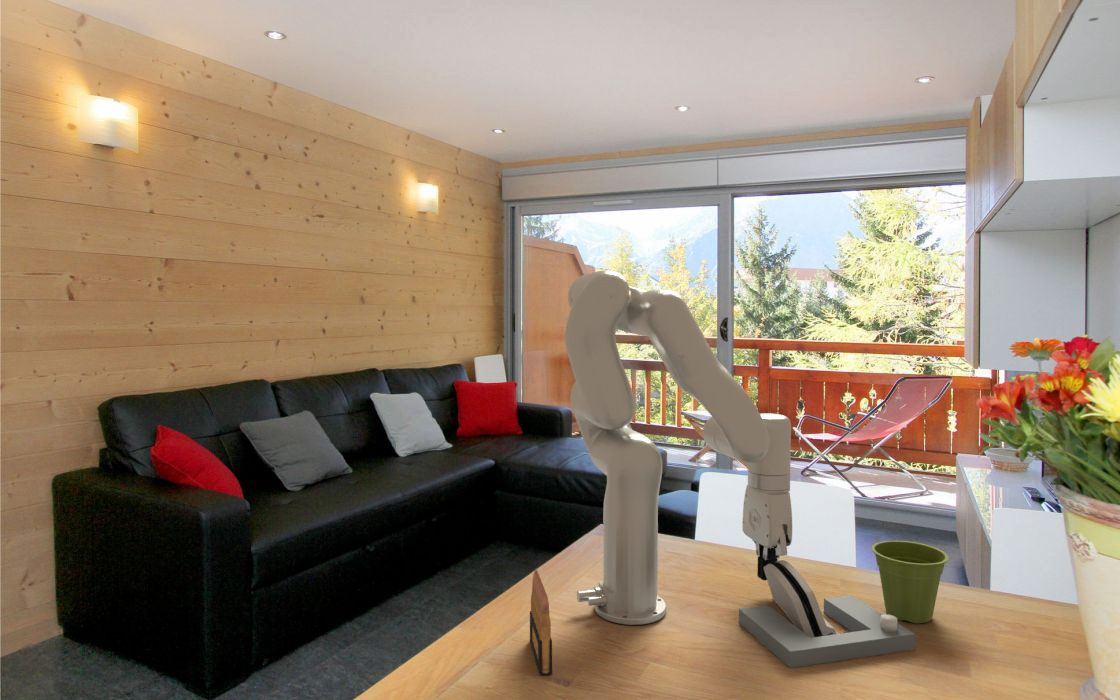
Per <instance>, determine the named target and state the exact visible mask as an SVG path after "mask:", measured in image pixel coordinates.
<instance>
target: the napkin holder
mask: <svg viewBox="0 0 1120 700" xmlns="http://www.w3.org/2000/svg"><path fill="white" fill-rule="evenodd" d="M543 584H544V583H543V582H542V579H541V577H540V575H539V572H538V569H535V570H534V572H533V574H532V587H531V595H530V597H531V598H530V611H529V644H530V647H531V650H532V654H533V657H534V661H535V665H536V668H537V671H538V675H539V676H548V675H549V676H550V675H552V674H553V639H552V636H551V635H552V634H551V633H552V632H551V631H552V630H551V627H552V626H551V617H550V602H549V598H548V597H549V596H548V594H547V592H546V590H545V587H544V585H543Z"/></svg>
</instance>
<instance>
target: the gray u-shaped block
mask: <svg viewBox="0 0 1120 700" xmlns="http://www.w3.org/2000/svg"><path fill="white" fill-rule="evenodd" d="M823 613H824V614H825V615H826V616H829V617H830V618H831V619H833V620H834V621H835V622H837V623H838V624H840V625H842V626H843V627H845V628H846V629H847V630H849V632H843V633H836V634H834V635H830V634H828V635H826V636H822V635H819V636H816V637H813V638H810V637H809V636H808V635H806V634H805V633H804V632H802V631H801V630H800V629H799V628H797V627H796V626H795V625H794V624H793V622H792V621H790V620H788V619H787V618H786V617H784V616H783V615H781V614H780V613H779V612H777V610H775V608H773V607H771V606H770V605H767V604H766V605H759V606H753V607H752V606H750V607H743V608H742V607H741V608H738V624H739V625H740V626H741V627H742V628H744V629H745V630H746V631H747V632H748V633H750V634H751V635H752V636H753V637H754V638H755V639H756V640H757V641H758V642H760V643H761V644H762V645H763V646H764V647H765V648H767V649H768V651H770V652H771V653H772V654H773V655H774V656H775V657H776V658H778V659H779V660H780V661H781V662H783V664H785V665H786V666H787V667H788V668H789V669H793V668H799V667H808V666H814V665H819V664H828V663H833V662H839V661H840V662H841V661H848V660H854V659H859V658H868V657H873V656H881V655H887V654H893V653H894V654H895V653H900V652H908V651H915V650H916V633H915V632H913V631H911V630H909V629H908V628H907V627H904V626H903V625H901V624H900V623H898V619H897V618H896V617H895V616H893V615H889V614H888V613H881V612H880V611H878V610H876V609H875V608H873V607H871V606H870V605H868V604H866V603H865V602H863V601H862V600H860V599H858V598H857V597H855V596H853V595H852V594H849V595H842V596H834V597H833V596H832V597H825V598H823Z"/></svg>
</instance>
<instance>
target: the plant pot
mask: <svg viewBox="0 0 1120 700" xmlns="http://www.w3.org/2000/svg"><path fill="white" fill-rule="evenodd" d="M871 551H872V553H873V554H874V555H875V559H876V564H877V567H878V571H879V576H880V577H879V578H880V583H881V589H882V590H881V591H882V596H883V602H884V608H885V609H884V610H885V611H886V614H888V615H893V616H895V617H896V618H897V621H907V622H910V623H913V624H923V623H929V622H930V621H931V620H932V619H933V618H934V617H933V616H934V611H935V606H936V601H937V596H938V591H939V587H940V586H939V585H940V581H941V577H942V576H941V575H942V574H943V571H944V567H945V564H946V563H948V561H949V555H948V554H947V553H946V552H945V551H943V550H941V549H940V548H937V547H935V546H932V545H928V544H924V543H920V542H913V541H907V540H884V541H879V542H876V543H874V544H873V545H872V546H871Z"/></svg>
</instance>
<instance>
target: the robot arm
mask: <svg viewBox="0 0 1120 700" xmlns="http://www.w3.org/2000/svg"><path fill="white" fill-rule="evenodd" d="M567 301H568V305H569V307H570V311H569V314H568V318H567V319H566V320H567V321H566V326H565V331H564V333H565V334H564V336H565V337H564V339H565V342H564V344H565V349H566V354H567V358H568V360H569V364H570V367H571V370H572V372H573V376H574V379H575V382H574V384H573V385H572V388H571V392H570V405H571V409H572V412H573V413H572V414H573V416H574V418H575V421H576V423H577V426H578V429H579V431H580V434H581V437H582V440H583V442H584V445H585V448H586V450H587V453H588V454H589V458H590V459H591V461H592V463H593V464H594V466H595V467H596V468H597V469H598V471H600V472H602V473H603V474H604V475H605V476H606V487H605V492H604V493H605V494H604V497H603V498H604V499H603V509H602V511H603V512H602V513H603V515H602V516H603V517H602V518H603V519H602V520H603V521H602V522H603V579H602V580H599V581H598V585H597V586H594V587H593V589H579V590H577V591H576V599H577V603H583V602H587V605H588V606H589V607H592V606H594V610H595V612H596V614H597V615H598V616H600V617H601V618H602V619H604V620H606V621H609V622H611V623H615V624H620V625H621V624H622V625H626V626H627V625H629V626H635V625H636V626H638V625H639V626H640V625H646V624H651V623H655V622H658V621H659V620H661V619H662V618H663V617H664V616H665V615H666V613H667V603H666V602H665V600H664V599H663V598H662V597H660V596H659V595H658V573H659V572H658V570H659V569H658V568H659V567H658V566H659V565H658V563H659V562H658V560H659V559H658V558H659V557H658V556H659V555H658V553H659V551H658V550H659V549H658V548H659V547H658V545H659V544H658V543H659V542H658V541H659V536H658V535H659V534H658V533H659V532H658V531H659V522H658V518H659V517H658V516H659V512H658V511H659V494H660V490H661V489H660V488H661V487H660V486H661V482H662V481H661V480H662V476H663V458H662V454H661V452H660V450H659V448H658V446H657V445H656V444H655V443H654V441H652V440H651V439H650V438H649V437H647V436H646V435H644V434H642V433H640V432H638V431H636V430H633V429H632V425H631V423H632V421H633V419H634V417H635V414H636V412H637V401H636V396H635V393H634V391H633V388H632V387H631V386H632V385H631V384H630V381H629V379H628V375H627V373H626V370H625V367H624V364H623V362H622V359H621V356H620V352H619V349H618V345H617V340H616V338H617V337H616V333H617V330H619V331H621V332H626V333H630V334H634V335H638V336H642V337H643V336H645V337H648V339H649V340H650V342H651V344H652V345H653V347H654V348H655V351H656V352H657V355H658V356H659V358H660V359H661V361H662V362H663V364H664V366H665V368H666V369H667V372H668V373H669V375H670V377H671V379H672V380H673V382H674V383H675V385H677V386H678V387H679V388H680V389H681V390H682V392H684V393H686V394H687V395H688V396H690V397H691V398H693V400H696V402H698V403H699V405H701V406H702V407H703V408H704V409H705V410H706V411H707V412H708V413H709V415H710V416H711V417H709V418H708V419H707V420H706V421H705V423H704V426H703V429H702V436H703V439H704V442H705V443H706V445H707V447H709V448H710V449H712V450H713V451H715V452H717V453H719V454H721V455H723V456H727V457H729V458H731V459H734V460H736V461H738V462H741V463H744V464H745V463H746V464H747V484H746V487H745V492H744V496H743V497H744V499H743V509H742V527H741V528H742V532H743V534H745V536H746V537H748V538H749V539H751V540H752V541H753V542H754V544H755V553H756V554H755V555H757V578H758V579H760V580H762V581H767V578H766V575H765V572H764V568H763V567H765V566H766V565H768V564H773V565H774V563H776V561H779V559H780V557H781V556H782V557H783V556H788V547H789V546H790V545H792V541H793V511H792V499H791V494H790V493H791V492H790V491H791V452H792V451H791V449H792V447H791V446H792V445H791V444H792V442H791V439H792V423H791V420H790V418H789V417H788V416H786V415H783V414H778V413H772V412H771V413H767V412H766V413H760V412H759V410H758V408H757V406H756V405H755V403H754V401H753V399H752V398H751V396H750V395H749V394H748V393H747V391H746V390H745V388H743V386H742V385H741V384H740V383H739V382H738V381H737V380H736V379H735V377H733V375H732V374H731V372H729V371H728V369H727V368H726V367H725V366H724V365H723V364H722V363H721V362H720V361H719V360H718V358H717V356H716V355H715V353H714V352H713V350H712V348H711V347H710V344H709V343H708V341H707V339H706V337H705V335H704V333H703V332H702V330H701V328H700V326H699V325H698V323H697V321H696V319H695V317H694V315H693V314H692V312H691V310H690V308H689V307H688V305H687V303H686V302H685V300H684V299H683V298H682V296H681V295H679V293H677V292H675V291H672V290H669V289H654V290H645V289H642V288H638V287H633V286H630V283H628V280H627V279H626V278H625V277H624V276H623V274H621V273H619V272H617V271H613V270H609V269H608V270H607V269H606V270H598V271H594V272H590V273H586V274H583V275H581V276H579V277H578V278H576V279H575V280H574V281H573V282H572V284H571V285H570V287H569V289H568V294H567Z"/></svg>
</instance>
